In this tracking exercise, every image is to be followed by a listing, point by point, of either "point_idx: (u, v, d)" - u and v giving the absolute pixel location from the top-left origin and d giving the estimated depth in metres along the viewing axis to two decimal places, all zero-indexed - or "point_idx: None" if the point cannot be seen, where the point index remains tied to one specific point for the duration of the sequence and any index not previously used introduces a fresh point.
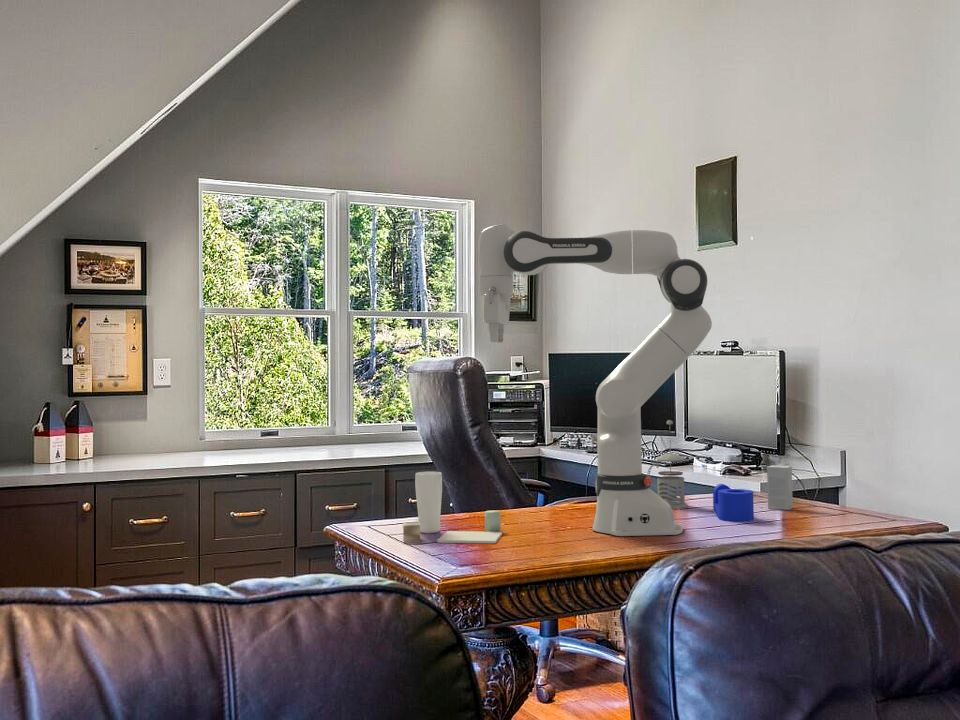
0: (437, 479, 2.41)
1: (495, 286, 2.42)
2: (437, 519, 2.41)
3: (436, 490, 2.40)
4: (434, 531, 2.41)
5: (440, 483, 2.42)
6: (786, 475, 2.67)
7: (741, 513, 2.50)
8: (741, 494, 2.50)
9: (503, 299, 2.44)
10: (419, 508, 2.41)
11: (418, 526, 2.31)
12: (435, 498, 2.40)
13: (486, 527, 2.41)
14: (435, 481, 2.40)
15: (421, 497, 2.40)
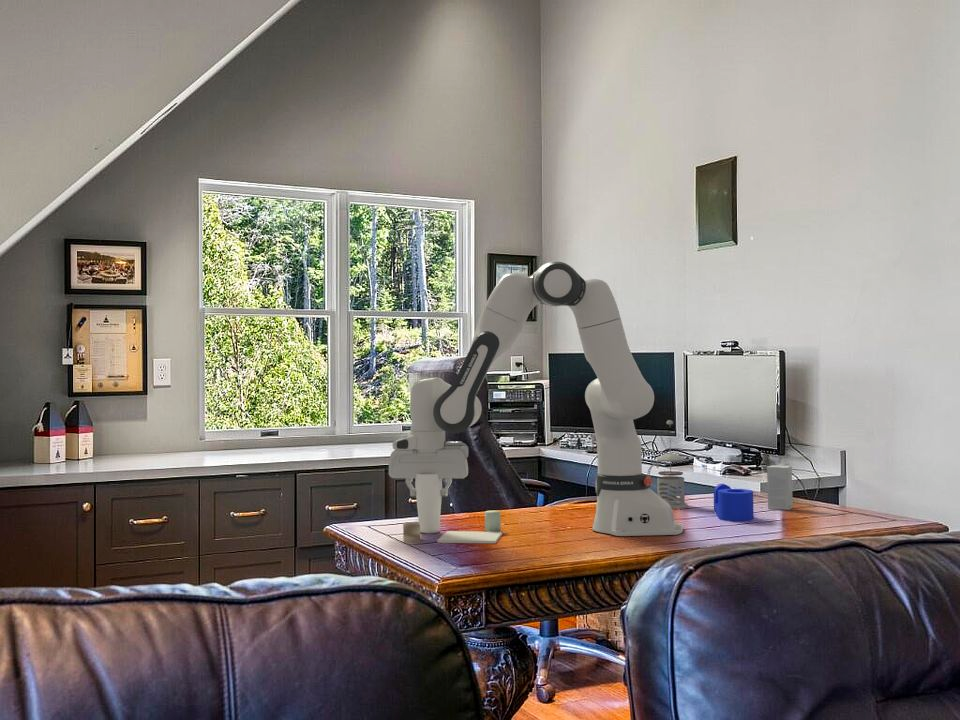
0: (437, 479, 2.41)
1: None
2: (437, 519, 2.41)
3: (436, 490, 2.40)
4: (434, 531, 2.41)
5: (440, 483, 2.42)
6: (786, 475, 2.67)
7: (741, 513, 2.50)
8: (741, 494, 2.50)
9: None
10: (419, 508, 2.41)
11: (418, 526, 2.31)
12: (435, 498, 2.40)
13: (486, 527, 2.41)
14: (435, 481, 2.40)
15: (421, 497, 2.40)
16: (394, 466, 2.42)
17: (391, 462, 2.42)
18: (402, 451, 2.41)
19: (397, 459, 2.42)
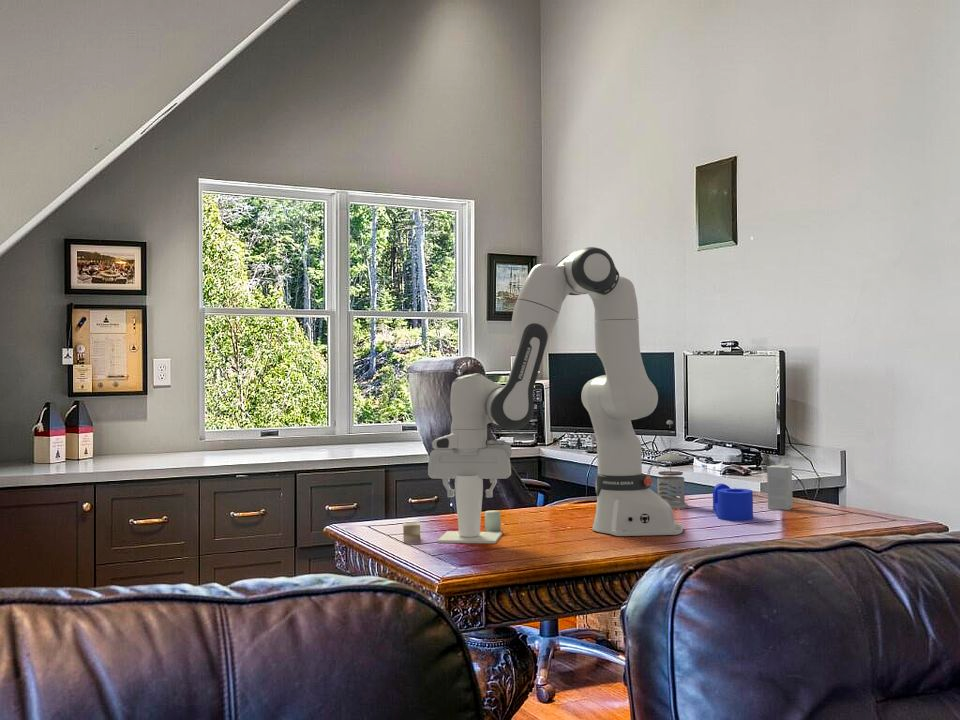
0: (478, 480, 2.31)
1: (486, 439, 2.33)
2: (478, 522, 2.31)
3: (477, 492, 2.31)
4: (475, 535, 2.31)
5: (481, 485, 2.32)
6: (786, 475, 2.67)
7: (741, 512, 2.51)
8: (740, 493, 2.51)
9: None
10: (459, 511, 2.31)
11: (418, 526, 2.31)
12: (476, 501, 2.31)
13: (486, 527, 2.41)
14: (476, 482, 2.30)
15: (461, 500, 2.31)
16: (433, 466, 2.33)
17: (430, 462, 2.32)
18: (442, 450, 2.31)
19: (436, 458, 2.32)
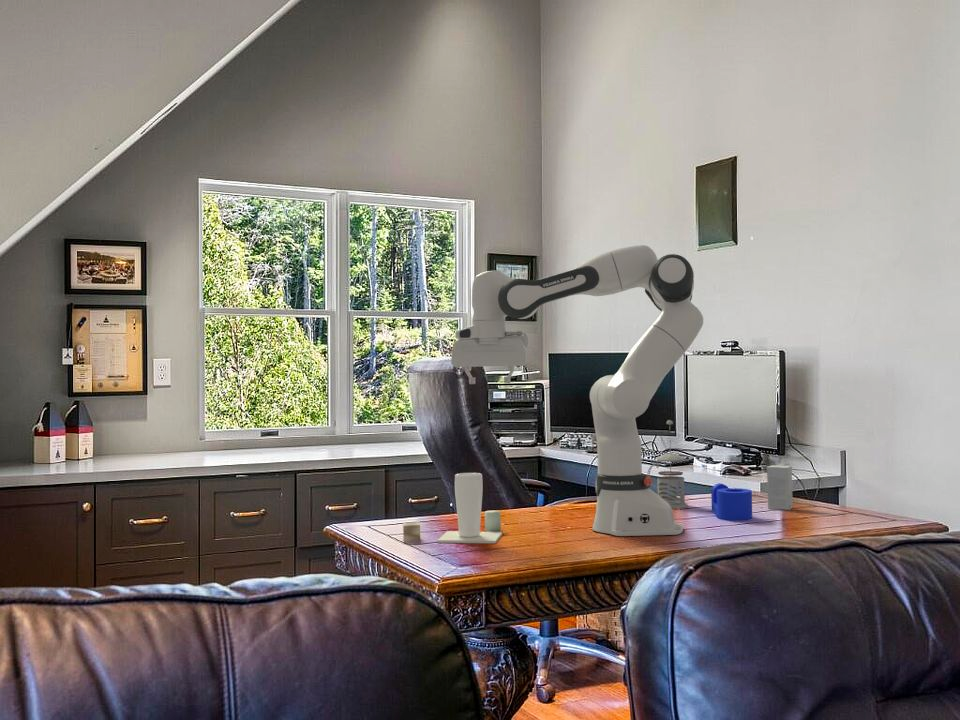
0: (478, 480, 2.31)
1: None
2: (478, 522, 2.31)
3: (477, 492, 2.31)
4: (475, 535, 2.31)
5: (481, 485, 2.32)
6: (786, 475, 2.67)
7: (740, 512, 2.51)
8: (740, 493, 2.51)
9: None
10: (459, 511, 2.31)
11: (418, 526, 2.31)
12: (476, 501, 2.31)
13: (486, 527, 2.41)
14: (476, 483, 2.30)
15: (461, 500, 2.31)
16: (456, 355, 2.54)
17: (454, 351, 2.54)
18: (464, 340, 2.53)
19: (459, 348, 2.54)
